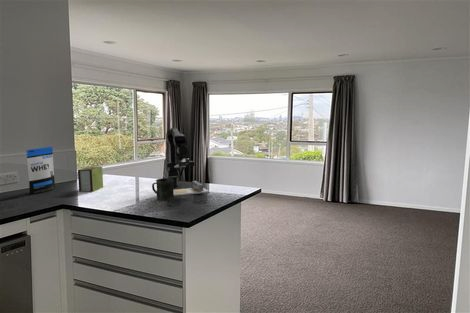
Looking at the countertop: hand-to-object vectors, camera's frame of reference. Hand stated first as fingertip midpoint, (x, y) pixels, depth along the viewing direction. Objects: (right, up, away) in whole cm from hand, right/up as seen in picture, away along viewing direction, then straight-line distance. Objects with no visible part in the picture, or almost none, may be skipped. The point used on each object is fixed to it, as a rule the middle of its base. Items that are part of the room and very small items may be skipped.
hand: (180, 177), depth 234 cm
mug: (-9, -13, -13) cm, 21 cm away
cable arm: (+11, -8, +7) cm, 15 cm away
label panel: (+5, -11, +5) cm, 13 cm away
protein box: (-66, -10, +14) cm, 68 cm away
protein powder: (-97, -11, +10) cm, 98 cm away
